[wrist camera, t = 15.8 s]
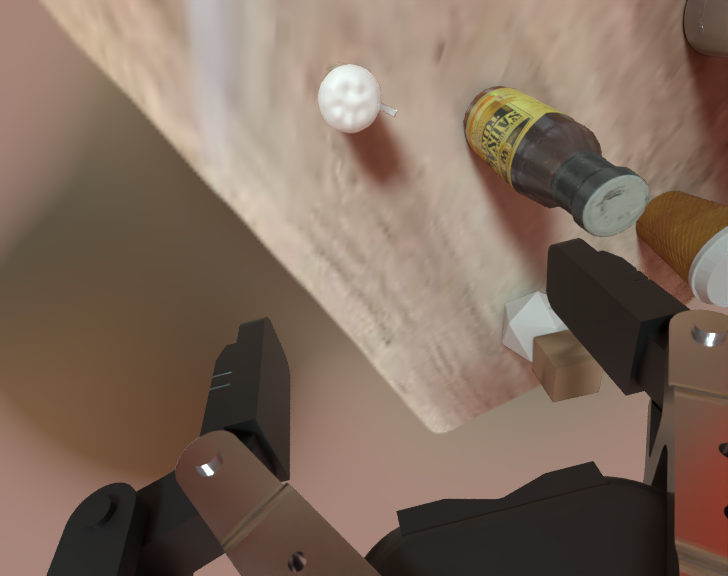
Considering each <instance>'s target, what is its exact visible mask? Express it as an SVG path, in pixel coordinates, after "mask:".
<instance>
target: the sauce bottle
mask: <svg viewBox="0 0 728 576" xmlns="http://www.w3.org/2000/svg"><path fill="white" fill-rule="evenodd" d="M464 130H465V135H466V138H467V141H468V143H469V145H470V146H471V148H472V149H473V150H474V151H475V152H476V153H477V154H478V155H479V156H480V157H481V158H482V159H483V160H484V161H485V162H486V163H487V164H488V165H489V166H490V167H491V168H493V169H494V170H495V171H496V172H497V173H498V174H499V175H500V176H501V177H502V178H503V179H504V180H505V181H506V182H507V183H508V184H509V185H510V186H511V187H512V188H513V189H514V190H515V191H516V192H518V193H520V194H522V195H524V196H526V197H528V198H530V199H532V200H534V201H536V202H538V203H540V204H541V205H543V206H545V207H548V208H554V207H561V208H563V209H565V210H566V211H567V212H569V213H570V214H571V215H572V216H573V219H574V221H575V222H576V223H577V224H578V225H579V226H580V227H581V228H583V229H584V230H585V231H587V232H588V233H590V234H592V235H594V236H599V237H608V236H613V235H616V234H618V233H620V232H623V231H624V230H625V229H627V228H629V227H630V226H632V225H633V224H634V223H635V222H636V221H637V220H638V219H639V217H640V216H641V215H642V214H643V212H644V210H645V208H646V205H647V202H648V200H649V187H648V185H647V183H646V182H645V180H644V179H643V178H641V177H640V176H638V175H637V174H636V173H635V172H633V171H632V170H631V169H629V168H627V167H616V166H614V165H613V164H611V163H610V162H608V161H607V160H606V159H605V158H603V157H602V155H601V153H602V151H601V147H600V143H599V142H598V140H597V139H596V136H595V135H594V133H593V132H592V131H590V130H589V129H588V128H586V127H585V126H583V125H582V124H580V123H578V122H576V121H575V120H574V119H572V118H571V117H570V116H568V115H566V114H564V113H562V112H560V111H558V110H556V109H554V108H552V107H550V106H548V105H546V104H544V103H542V102H540V101H538V100H536V99H534V98H532V97H530V96H528V95H526V94H524V93H522V92H520V91H518V90H516V89H513V88H507V87H502V86H497V87H491V88H489V89H486V90H484V91H483V92H481V93H480V94H479V95H477V96H476V97H475V99H474V100H473V101H472V103H471V104H470V106H469V108H468V110H467V112H466V114H465V118H464Z"/></svg>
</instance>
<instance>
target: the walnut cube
mask: <svg viewBox="0 0 728 576" xmlns="http://www.w3.org/2000/svg"><path fill="white" fill-rule="evenodd" d="M532 370H533V372H534V373H535V375H536V376H537V378H538V380H539V381H540V383H541V384H542V386H543V387H544V389H545V390H546V392H547V394H548V395H549V397H550V399H551V400H552V401H553V402H557V401H561V400H566V399H570V398H575V397H579V396H583V395H588V394H593V393H597V392H599V389H600V383H601V379H602V373H603V368H602V367H601V366H600V365H599V364H598V363H597V361H596V360H595V359H594V358H593V357H592V356H591V354H590V353H589V352H588V351H587V350H586V349H585V347H584V346H583V345H582V344H581V343H580V342H579V340H578V339H577V338H576V337H575V336H574V335H573V333H572V332H571V331H570V330H569V329H568V330H563V331H559V332H554V333H549V334H545V335H540V336H536V337H534V342H533V359H532Z"/></svg>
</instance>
